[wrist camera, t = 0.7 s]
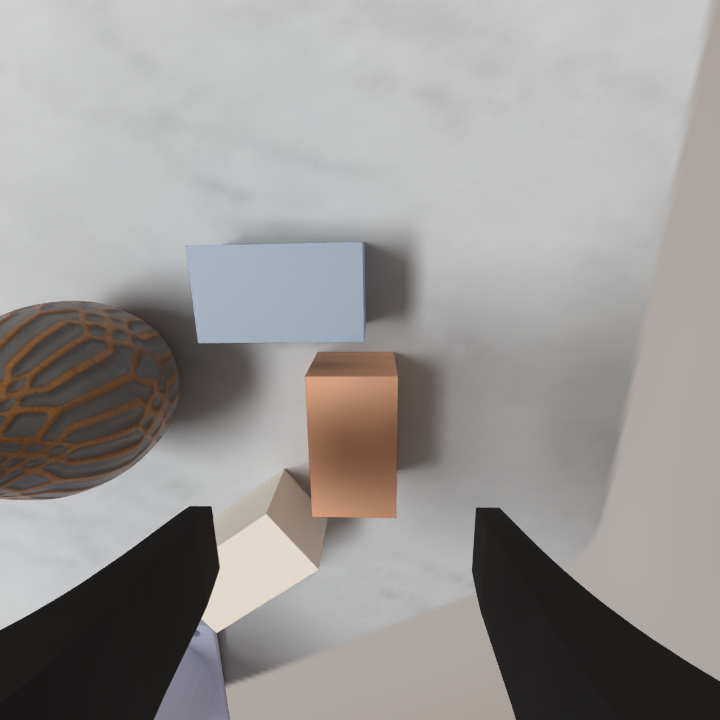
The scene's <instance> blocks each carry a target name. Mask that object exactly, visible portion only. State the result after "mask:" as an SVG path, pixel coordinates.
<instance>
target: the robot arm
mask: <svg viewBox="0 0 720 720" xmlns="http://www.w3.org/2000/svg"><path fill="white" fill-rule="evenodd" d="M219 569H220V565H219V557H218V550H217V543H216V536H215V529H214V521H213V514H212V507H211V506H190V507H188V508H187V509H185V510H184V511H182V512H181V513H179V514H178V515H176V516H175V517H174V518H172V519H171V520H170V521H168V522H167V523H166V524H164V525H163V526H162V527H160V528H159V529H158V530H156V531H155V532H154V533H152V534H151V535H149V536H148V537H147V538H145V539H144V540H143V541H141V542H140V543H139V544H137V545H136V546H135V547H133V548H132V549H130V550H129V551H128V552H126V553H125V554H124V555H122V556H121V557H119V558H118V559H116V560H115V561H113V562H112V563H111V564H109V565H108V566H106V567H105V568H103V569H102V570H100V571H99V572H97V573H96V574H94V575H93V576H91V577H90V578H89V579H87V580H86V581H84V582H83V583H81V584H80V585H78V586H76V587H75V588H73V589H72V590H70V591H68V592H67V593H65V594H64V595H62V596H60V597H59V598H57V599H55V600H54V601H52V602H50V603H49V604H47V605H45V606H44V607H42V608H40V609H38V610H37V611H35V612H33V613H32V614H30V615H28V616H26V617H24V618H23V619H21V620H19V621H17V622H15V623H13V624H11V625H9V626H7V627H5V628H4V629H2V630H0V720H230V718H229V711H228V704H227V698H226V691H225V684H224V677H223V671H222V664H221V657H220V651H219V644H218V637H217V633H216V632H215V631H214V630H213V629H212V628H211V627H209V626H208V625H207V624H206V623H205V622H204V621H201V618H202V616H203V614H204V612H205V610H206V608H207V605H208V602H209V599H210V597H211V594H212V591H213V588H214V585H215V582H216V579H217V576H218V573H219ZM472 573H473V578H474V583H475V588H476V593H477V597H478V602H479V606H480V610H481V614H482V617H483V619H484V623H485V626H486V629H487V632H488V635H489V638H490V641H491V644H492V647H493V650H494V653H495V656H496V659H497V662H498V665H499V668H500V671H501V674H502V677H503V680H504V683H505V686H506V689H507V692H508V695H509V698H510V701H511V704H512V708H513V711H514V714H515V718H516V720H720V681H718V680H717V679H715V678H713V677H712V676H710V675H708V674H706V673H705V672H703V671H702V670H700V669H698V668H697V667H695V666H693V665H692V664H690V663H689V662H687V661H685V660H684V659H682V658H680V657H679V656H677V655H676V654H674V653H673V652H672V651H670V650H668V649H667V648H665V647H663V646H662V645H661V644H659V643H658V642H656V641H654V640H653V639H652V638H650V637H649V636H647V635H646V634H644V633H643V632H642V631H640V630H639V629H637V628H636V627H634V626H633V625H632V624H630V623H629V622H628V621H626V620H625V619H624V618H622V617H621V616H620V615H618V614H617V613H615V612H614V611H613V610H611V609H610V608H609V607H607V606H606V605H605V604H603V603H602V602H601V601H600V600H598V599H597V598H596V597H594V596H593V595H592V594H591V593H590V592H588V591H587V590H586V589H585V588H584V587H582V586H581V585H580V584H579V583H578V582H577V581H575V580H574V579H573V578H572V577H571V576H569V575H568V574H567V573H566V572H565V571H564V570H563V569H562V568H561V567H559V566H558V565H557V564H556V563H555V562H554V561H553V560H552V559H551V558H550V557H549V556H548V555H546V554H545V553H544V552H543V551H542V550H541V549H540V548H539V547H538V546H537V545H536V544H535V543H534V542H533V541H532V540H531V539H530V538H529V537H528V536H527V535H526V534H525V533H524V532H523V531H522V530H521V529H520V528H519V527H518V526H517V525H516V524H515V523H514V522H513V521H512V520H511V519H510V518H509V517H508V516H507V515H506V514H505V513H504V512H503V511H502V510H501V509H500V508H476V518H475V533H474V548H473V564H472Z"/></svg>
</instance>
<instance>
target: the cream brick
mask: <svg viewBox="0 0 720 720" xmlns="http://www.w3.org/2000/svg"><path fill="white" fill-rule="evenodd" d="M327 520H328V517H312V502H311V498H310V497H309V496H308V495H307V493H306V492H305V491H304V490H303V489H302V488H301V487H300V486H299V485H298V484H297V482H296V481H295V480H294V479H293V478H292V477H291V476H290V475H289V474H288V473H287V471H286V470H285V469H283V470H282V471H280V472H279V473H278V474H276V475H275V476H273V477H272V478H270V479H269V480H268V481H266V482H265V483H263V484H262V485H260V486H259V487H258V488H256V489H255V490H253V491H252V492H250V493H249V494H248V495H246V496H245V497H243V498H242V499H240V500H239V501H238V502H236V503H235V504H233V505H232V506H230V507H229V508H228V509H226V510H225V511H223V512H222V513H221V514H219V515H218V516H216V517H215V518H213V521H214V529H215V536H216V543H217V550H218V557H219V565H220V569H219V573H218V576H217V579H216V582H215V585H214V588H213V591H212V594H211V597H210V599H209V602H208V605H207V608H206V610H205V612H204V614H203V616H202V618H201V619H202V620H203V621H204V622H205V623H206V624H207V625H208V626H209V627H211V628H212V629H213V630H214V631H215V632H216V633H218V632H219V631H221V630H222V629H224V628H226V627H227V626H229V625H230V624H232V623H234V622H235V621H237V620H239V619H240V618H242V617H243V616H245V615H247V614H248V613H250V612H251V611H253V610H255V609H256V608H258V607H259V606H261V605H263V604H264V603H266V602H267V601H269V600H271V599H272V598H274V597H275V596H277V595H279V594H280V593H282V592H284V591H285V590H287V589H288V588H290V587H292V586H293V585H295V584H296V583H298V582H300V581H301V580H303V579H304V578H306V577H308V576H309V575H311V574H312V573H314V572H316V571H317V570H319V566H320V560H321V554H322V548H323V543H324V537H325V531H326V525H327Z"/></svg>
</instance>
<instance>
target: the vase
mask: <svg viewBox="0 0 720 720" xmlns="http://www.w3.org/2000/svg"><path fill="white" fill-rule="evenodd" d="M179 390H180V378H179V371H178V367H177V363H176V360H175V358H174V356H173V353H172V351H171V350H170V348H169V346H168V345H167V343H166V342H165V340H164V339H163V338H162V337H161V336H160V334H159V333H158V332H157V331H156V330H155V329H154V328H152V327H151V326H150V325H149V324H147V323H146V322H145V321H143V320H142V319H140V318H138V317H137V316H135V315H133V314H131V313H128V312H126V311H124V310H121V309H119V308H116V307H112V306H108V305H104V304H100V303H94V302H85V301H60V302H50V303H43V304H37V305H32V306H28V307H24V308H21V309H17V310H14V311H12V312H9V313H6V314H4V315H1V316H0V499H11V500H47V499H55V498H61V497H66V496H70V495H74V494H77V493H80V492H83V491H86V490H89V489H92V488H94V487H96V486H99V485H101V484H103V483H105V482H107V481H109V480H111V479H113V478H115V477H117V476H119V475H120V474H122V473H123V472H125V471H127V470H128V469H130V468H131V467H132V466H134V465H135V464H136V463H137V462H138V461H140V460H141V459H142V458H143V457H144V456H145V455H146V454H147V453H148V452H149V451H150V450H151V449H152V448H153V447H154V446H155V444H156V443H157V442H158V441H159V440H160V438H161V437H162V436H163V434H164V433H165V431H166V430H167V428H168V426H169V424H170V422H171V420H172V418H173V415H174V413H175V410H176V407H177V403H178V399H179Z"/></svg>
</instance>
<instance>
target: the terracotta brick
mask: <svg viewBox="0 0 720 720" xmlns="http://www.w3.org/2000/svg"><path fill="white" fill-rule="evenodd" d="M305 389H306V408H307V427H308V445H309V464H310V483H311V502H312V517H362V518H396V491H397V410H398V374H397V368H396V362H395V355H394V352H317V354H316V356H315V358H314V360H313V362H312V364H311V366H310V368H309V370H308V372H307V373H306V375H305Z"/></svg>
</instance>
